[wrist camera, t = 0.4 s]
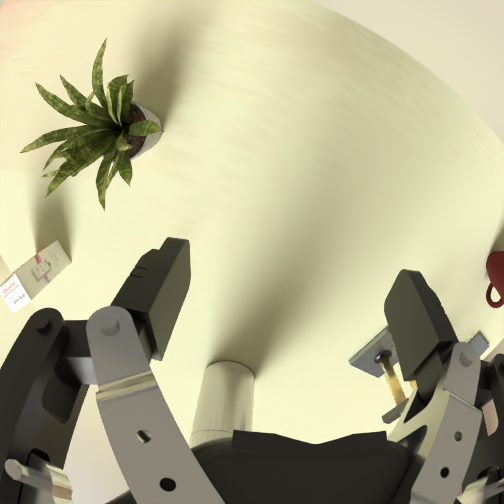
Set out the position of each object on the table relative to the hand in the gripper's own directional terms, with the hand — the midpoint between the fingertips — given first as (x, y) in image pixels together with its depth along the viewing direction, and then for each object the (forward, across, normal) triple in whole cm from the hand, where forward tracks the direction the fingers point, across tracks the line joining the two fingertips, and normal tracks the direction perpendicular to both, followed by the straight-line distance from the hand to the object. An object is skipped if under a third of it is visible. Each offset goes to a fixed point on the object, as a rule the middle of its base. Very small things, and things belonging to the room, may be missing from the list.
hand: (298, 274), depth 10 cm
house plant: (+24, -18, +1) cm, 30 cm away
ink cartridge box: (+20, -36, -20) cm, 46 cm away
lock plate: (+20, +24, -31) cm, 44 cm away
